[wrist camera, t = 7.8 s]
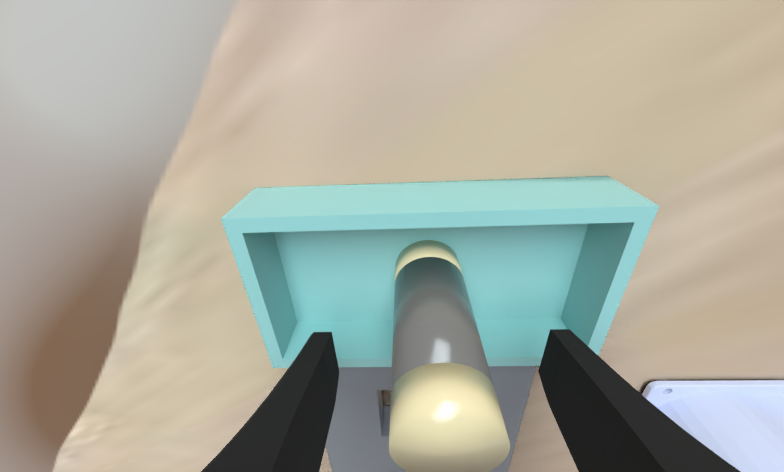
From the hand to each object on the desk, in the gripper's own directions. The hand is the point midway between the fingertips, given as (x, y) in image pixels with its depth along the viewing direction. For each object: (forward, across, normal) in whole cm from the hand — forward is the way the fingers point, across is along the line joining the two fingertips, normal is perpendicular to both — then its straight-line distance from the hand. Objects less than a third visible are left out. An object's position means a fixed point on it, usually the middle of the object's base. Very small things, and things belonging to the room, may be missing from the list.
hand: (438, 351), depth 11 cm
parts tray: (+6, 0, 0) cm, 6 cm away
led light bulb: (+5, 0, 0) cm, 5 cm away
